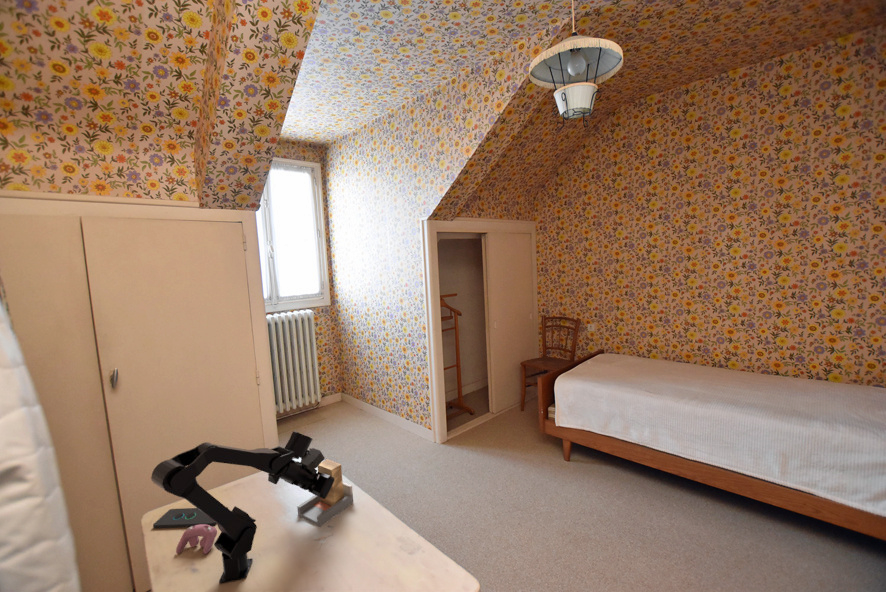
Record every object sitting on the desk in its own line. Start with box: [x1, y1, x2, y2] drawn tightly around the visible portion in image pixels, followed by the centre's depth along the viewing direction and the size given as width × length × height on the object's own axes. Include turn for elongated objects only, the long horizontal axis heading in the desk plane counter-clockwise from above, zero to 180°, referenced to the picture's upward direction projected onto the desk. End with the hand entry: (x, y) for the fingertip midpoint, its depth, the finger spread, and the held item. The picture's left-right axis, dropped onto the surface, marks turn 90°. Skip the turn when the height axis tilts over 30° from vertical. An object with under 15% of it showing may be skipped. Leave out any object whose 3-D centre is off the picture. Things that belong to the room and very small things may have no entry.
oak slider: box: [317, 459, 344, 506], centre depth 128 cm, size 4×7×12 cm, turn 56°
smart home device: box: [152, 506, 229, 529], centre depth 126 cm, size 8×2×20 cm
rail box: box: [296, 481, 354, 528], centre depth 127 cm, size 14×11×6 cm
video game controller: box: [175, 524, 218, 555], centre depth 112 cm, size 10×5×7 cm, turn 85°
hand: (325, 487), depth 127 cm, fingers closed, pressing on oak slider
